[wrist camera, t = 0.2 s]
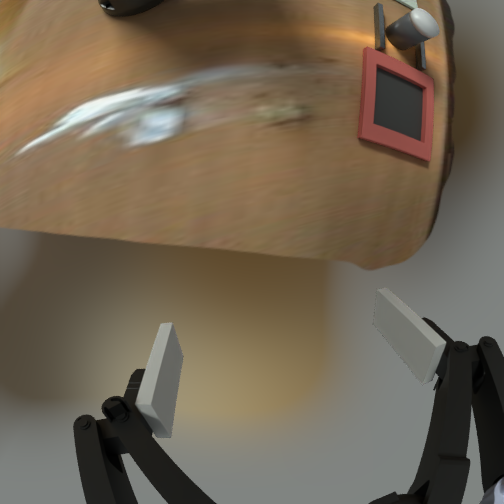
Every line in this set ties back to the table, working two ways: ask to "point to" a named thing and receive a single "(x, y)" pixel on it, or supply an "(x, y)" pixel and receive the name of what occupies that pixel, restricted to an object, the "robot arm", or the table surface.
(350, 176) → the table surface
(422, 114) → the pit plate
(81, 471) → the robot arm
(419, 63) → the grey parallel bars
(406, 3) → the mat
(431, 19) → the white topped grey cylinder
